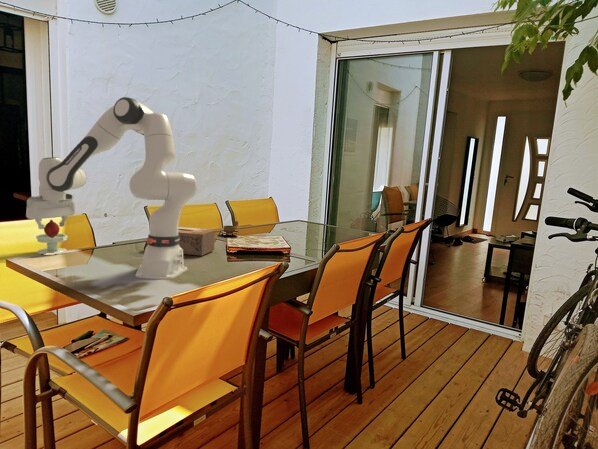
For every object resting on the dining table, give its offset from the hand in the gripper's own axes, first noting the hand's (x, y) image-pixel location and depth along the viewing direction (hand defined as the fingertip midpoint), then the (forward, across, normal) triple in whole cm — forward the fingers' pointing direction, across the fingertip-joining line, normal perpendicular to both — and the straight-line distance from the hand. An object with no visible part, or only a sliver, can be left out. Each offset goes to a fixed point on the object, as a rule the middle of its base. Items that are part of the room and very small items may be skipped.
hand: (52, 227), depth 185 cm
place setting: (+12, +98, -28) cm, 103 cm away
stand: (+11, 0, 0) cm, 11 cm away
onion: (+5, 0, 0) cm, 5 cm away
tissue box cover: (+12, +41, -37) cm, 57 cm away
